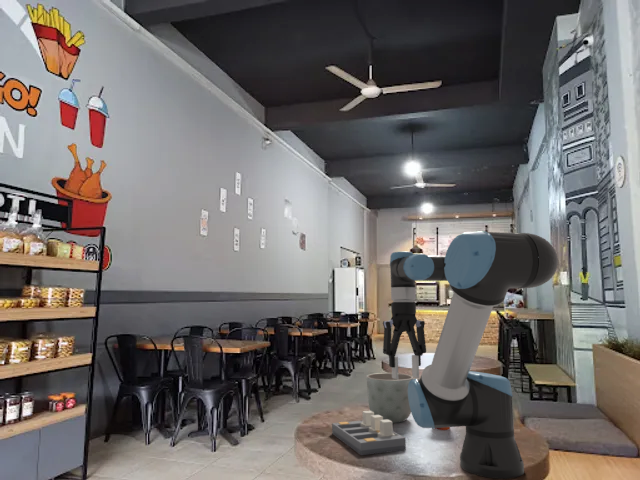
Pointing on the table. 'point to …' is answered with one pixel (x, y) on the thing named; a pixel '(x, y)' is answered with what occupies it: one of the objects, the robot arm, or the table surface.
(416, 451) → the table surface
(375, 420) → the tab
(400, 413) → the concrete flower pot
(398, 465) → the table surface
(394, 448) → the switch bank
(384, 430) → the tab
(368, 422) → the tab
